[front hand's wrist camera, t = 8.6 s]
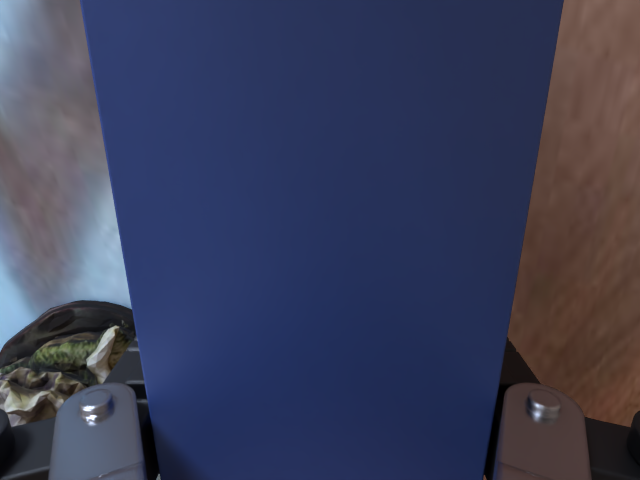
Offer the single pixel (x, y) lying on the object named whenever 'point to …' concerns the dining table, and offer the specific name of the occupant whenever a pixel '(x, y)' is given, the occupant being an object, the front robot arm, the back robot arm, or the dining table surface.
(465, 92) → the box
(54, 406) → the figurine
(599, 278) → the dining table surface
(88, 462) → the front robot arm
